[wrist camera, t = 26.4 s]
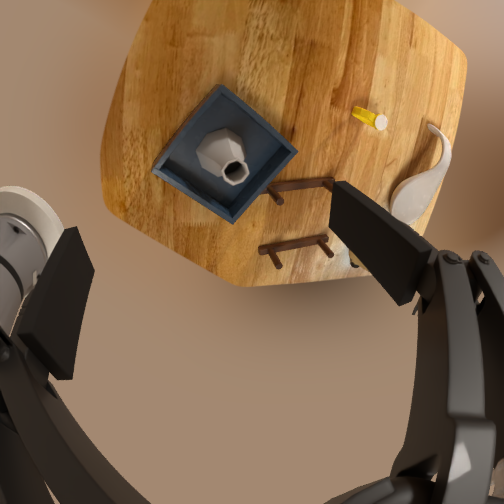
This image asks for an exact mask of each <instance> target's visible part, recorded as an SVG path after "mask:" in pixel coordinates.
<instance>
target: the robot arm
mask: <svg viewBox="0 0 504 504" xmlns="http://www.w3.org/2000/svg"><path fill="white" fill-rule="evenodd" d="M329 228H330V229H331V230H332V231H333V232H334V233H335V234H336V235H337V236H338V237H339V238H340V239H341V241H342V242H343V243H344V244H345V245H346V246H347V247H348V248H349V249H350V250H351V251H352V253H353V254H354V255H355V256H356V257H357V258H358V259H359V260H360V261H361V262H362V264H363V265H364V266H365V267H366V268H367V269H368V270H369V272H370V273H371V274H372V275H373V276H374V277H375V278H376V280H377V281H378V282H379V283H380V284H381V285H382V287H383V288H384V289H385V290H386V291H387V292H388V294H389V295H390V296H391V297H392V298H393V300H394V301H395V302H396V303H397V305H398V306H401V305H404V304H406V303H409V302H411V301H412V299H413V297H414V294H415V292H416V291H417V292H418V293H419V294H420V298H419V300H418V302H417V305H416V306H415V308H414V310H413V313H412V315H415V313H416V311H417V310H418V340H417V358H416V370H415V381H414V389H413V396H412V404H411V410H410V417H409V422H408V427H407V432H406V437H405V441H404V445H403V447H402V449H401V451H400V452H399V454H398V455H397V457H396V459H395V461H394V463H393V466H392V470H391V473H390V476H389V477H386V478H384V479H381V480H378V481H375V482H372V483H369V484H366V485H363V486H360V487H357V488H355V489H353V490H351V491H348V492H346V493H344V494H342V495H339V496H337V497H335V498H332V499H330V500H329V501H328V502H326V503H324V504H504V277H503V275H502V274H501V272H500V270H499V269H498V267H497V265H496V264H495V262H494V261H493V259H492V258H491V257H490V256H489V255H488V254H487V253H484V252H483V251H474V252H473V253H472V255H471V257H470V260H462V259H461V258H460V256H458V255H457V254H455V253H454V252H452V251H449V250H441V251H438V250H437V249H436V248H434V247H433V246H432V245H431V244H430V243H429V242H428V241H426V240H425V239H424V238H423V237H422V236H419V234H418V233H417V232H416V231H414V230H413V229H412V228H411V227H410V226H408V225H407V224H406V223H404V222H402V221H400V220H398V219H396V218H395V217H394V216H393V215H391V214H390V213H389V212H388V211H386V210H385V209H384V208H382V207H381V206H380V205H378V204H377V203H376V202H374V201H373V200H372V199H370V198H369V197H367V196H366V195H365V194H363V193H362V192H361V191H359V190H358V189H356V188H355V187H353V186H352V185H351V184H349V183H348V182H346V181H336V182H333V189H332V199H331V209H330V218H329ZM94 272H95V270H94V268H93V265H92V263H91V261H90V258H89V256H88V254H87V251H86V249H85V246H84V244H83V241H82V239H81V236H80V233H79V231H78V228H77V226H76V227H72V228H68V229H64V231H63V233H62V234H61V236H60V238H59V240H58V242H57V243H56V245H55V247H54V249H53V251H52V253H51V255H50V256H49V258H48V256H47V250H46V247H45V244H44V242H43V240H42V238H41V236H40V235H39V233H38V232H37V230H36V229H35V228H34V227H33V226H32V225H31V224H30V223H29V222H28V221H27V220H25V219H24V218H22V217H20V216H18V215H16V214H13V213H1V214H0V504H55V503H54V501H53V499H52V497H51V495H50V493H49V491H48V488H47V486H46V484H47V485H48V487H49V488H50V490H51V491H52V493H53V494H54V496H55V497H56V499H57V500H58V501H59V503H60V504H151V503H150V502H149V501H147V500H146V499H145V498H144V497H143V496H142V495H141V494H140V493H139V492H138V491H137V490H135V489H134V488H133V487H132V486H131V485H130V484H129V483H128V482H127V481H126V480H125V479H124V478H123V477H122V476H121V475H120V474H119V473H118V471H117V470H115V468H114V467H113V466H112V465H111V464H110V463H109V462H108V461H107V460H106V458H105V457H104V456H103V455H102V454H101V452H100V451H99V450H98V449H97V448H96V447H95V445H94V444H93V443H92V441H91V440H90V439H89V438H88V436H87V435H86V434H85V432H84V431H83V430H82V429H81V427H80V426H79V424H78V423H77V422H76V421H75V419H74V417H73V416H72V415H71V413H70V412H69V410H68V409H67V407H66V406H65V404H64V402H63V401H62V399H61V398H60V396H59V395H58V393H57V391H56V390H55V388H54V386H53V385H52V384H51V382H49V380H48V376H49V372H50V373H51V374H52V375H53V376H54V377H55V378H56V379H57V380H72V379H73V372H74V364H75V357H76V351H77V346H78V340H79V334H80V329H81V325H82V320H83V315H84V311H85V307H86V302H87V298H88V294H89V290H90V286H91V283H92V279H93V276H94ZM482 291H483V293H484V298H483V300H482V301H481V303H479V302H478V300H477V299H478V297H479V296H480V294H481V292H482ZM28 293H29V294H28ZM27 294H28V295H27ZM26 295H27V296H26ZM25 296H26V298H25V300H24V302H23V305H22V309H20V312H19V316H18V317H17V319H16V322H15V325H14V327H13V331H12V333H11V336H10V337H9V334H10V331H11V328H12V325H13V323H14V320H15V317H16V315H17V312H18V309H19V307H20V304H21V302H22V300H23V298H24V297H25ZM493 468H494V469H493ZM437 472H438V473H437ZM436 473H437V478H436V482H433V481H431V479H432V477H433V476H434V474H436ZM44 481H45V482H46V484H45V482H44ZM490 485H495V487H494V492H493V494H492V496H488V494H489V489H490Z"/></svg>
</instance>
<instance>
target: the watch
mask: <svg viewBox="0 0 504 504" xmlns="http://www.w3.org/2000/svg"><path fill="white" fill-rule="evenodd" d="M351 114H352V115H353V116H354V117H356V118H358V119H359V120H361V121H362V122H364V123H366V124H367V125H370V126H371V127H374V128H375V129H377V130H379V131H382V130H384V129H385V128H386V126H387V118H386V117H385V116H384V115H382V114H376V115H375V114H374V113H372V112H370V111H368V110H366V109H363V108H360V107H354V108H353V110H352V113H351Z"/></svg>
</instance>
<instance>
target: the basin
mask: <svg viewBox="0 0 504 504" xmlns="http://www.w3.org/2000/svg"><path fill="white" fill-rule="evenodd" d="M225 127H226V128H228V129H229V130H231V131H232V132H234V133H235V134H237V135H238V136H240V137H241V138H242V141H243V144H244V148H245V151H246V154H247V156H246V157H245V159H244V162H245V163H246V164H247V167H248V170H249V173H250V174H249V175H248V176H247V178H246V179H245V180H244V182H242V183H239V184H236V185H234V186H233V185H231V184H229V183H228V182H226V181H224V179H223V176H220V177H217V176H216V175H214V174H212V173H210V172H209V171H207V170H205V169H204V168H202V166H201V164H200V161H199V158H198V156H197V153H196V149H197V147H198V146H199V144H200V143H201V142H202V140H203V139H204V137H205V136H206V134H208V133H211V132H214V131H217V130H220V129H222V128H225ZM297 153H298V150H296V149H295V148H294V147H293V146H292V145H291V144H290V143H289V142H288V141H287V140H286V139H285V138H284V137H283V136H282V135H281V134H280V133H279V132H277V131H276V130H275V129H274V128H273V127H272V126H271V125H270V124H269V123H268V122H266V121H265V120H264V119H263V118H262V117H261V116H260V115H259V114H257V113H256V112H255V111H254V110H253V109H252V108H251V107H249V106H248V105H247V104H246V103H245V102H243V101H242V100H241V99H240V98H239V97H237V96H236V95H235V94H234V93H233V92H231V91H230V90H229V89H228V88H226V87H225V86H224V85H223V84H217V85H216V86H215V87H214V88H213V89H212V90H211V91H210V92H209V93H208V94H207V95H206V97H205V98H204V99H203V100H202V101H201V102H200V103H199V105H198V106H197V107H196V108H195V109H194V110H193V112H192V113H191V114H190V115H189V116H188V118H187V119H186V120H185V121H184V123H183V124H182V125H181V126H180V128H179V129H178V130H177V131H176V133H175V134H174V135H173V136H172V138H171V139H170V140H169V142H168V143H167V144H166V146H165V147H164V148H163V150H162V151H161V152H160V154H159V155H158V157H157V158H156V159H155V161H154V162H153V165H152V169H151V172H152V173H154V174H155V175H157V176H158V177H160V178H161V179H163V180H165V181H166V182H168V183H169V184H171V185H172V186H174V187H175V188H177V189H178V190H180V191H182V192H183V193H185V194H186V195H188V196H189V197H191V198H192V199H194V200H195V201H197V202H199V203H200V204H202V205H203V206H205V207H206V208H208V209H209V210H211V211H212V212H214V213H215V214H217V215H219V216H220V217H222V218H223V219H225V220H226V221H228V222H229V223H231V224H232V225H233V224H234V223H235V222H236V221H237V219H238V218H239V217H240V216H241V215H242V214H243V213H244V211H245V210H246V209H247V208H248V207H249V206H250V205H251V203H252V202H253V201H254V200H255V199H256V198H257V197H258V196H259V194H260V193H261V192H262V191H263V190H264V189H265V188H266V187H267V186H268V184H269V183H270V182H271V181H272V180H273V179H274V178H275V177H276V176H277V174H278V173H279V172H280V171H281V170H282V169H283V168H284V167H285V166H286V165H287V164H288V162H289V161H290V160H291V159H292V158H293V157H294V156H295V155H296V154H297Z"/></svg>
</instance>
